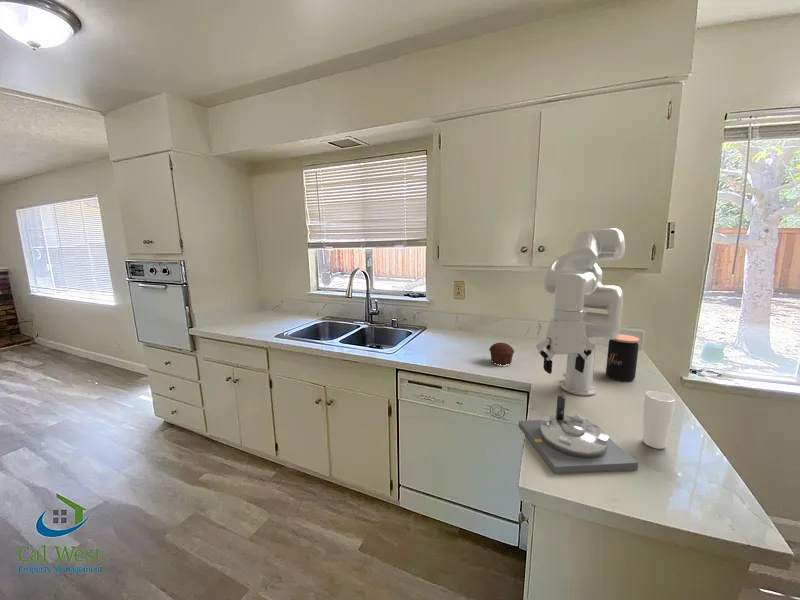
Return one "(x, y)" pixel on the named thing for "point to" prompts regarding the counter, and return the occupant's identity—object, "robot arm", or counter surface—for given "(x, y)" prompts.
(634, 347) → the coffee jar
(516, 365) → the counter surface
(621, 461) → the gray square base plate
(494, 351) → the muffin
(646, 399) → the drinking glass
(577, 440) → the round metal lid
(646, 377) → the counter surface
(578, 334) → the robot arm
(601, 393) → the counter surface
